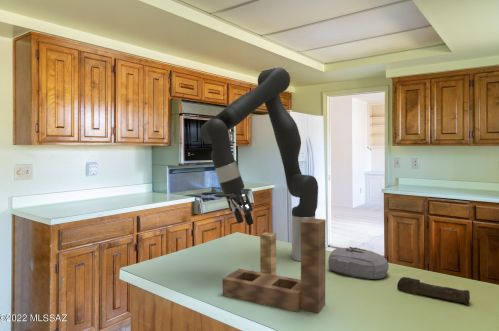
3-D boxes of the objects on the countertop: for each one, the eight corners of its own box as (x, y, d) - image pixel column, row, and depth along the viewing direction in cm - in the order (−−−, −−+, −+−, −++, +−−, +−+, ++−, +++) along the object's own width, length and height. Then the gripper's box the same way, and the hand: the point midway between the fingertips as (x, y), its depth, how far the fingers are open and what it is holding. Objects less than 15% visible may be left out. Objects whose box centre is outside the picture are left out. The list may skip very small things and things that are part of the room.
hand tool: (470, 302, 101) (470, 286, 101) (469, 307, 98) (469, 291, 98) (399, 288, 113) (399, 273, 112) (396, 292, 109) (396, 277, 109)
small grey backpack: (323, 273, 126) (382, 285, 114) (323, 249, 126) (382, 259, 114) (339, 261, 138) (394, 271, 127) (340, 240, 138) (394, 248, 126)
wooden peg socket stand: (222, 295, 107) (221, 215, 106) (239, 283, 116) (238, 210, 115) (316, 316, 93) (316, 225, 92) (327, 301, 102) (327, 218, 101)
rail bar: (260, 279, 120) (260, 234, 119) (265, 275, 124) (265, 232, 123) (271, 281, 118) (271, 236, 117) (276, 277, 122) (276, 233, 121)
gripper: (247, 173, 114) (264, 220, 115) (231, 175, 127) (246, 217, 128) (227, 181, 111) (244, 230, 112) (212, 182, 124) (228, 226, 125)
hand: (245, 223), depth 120 cm, fingers open, 8 cm apart
